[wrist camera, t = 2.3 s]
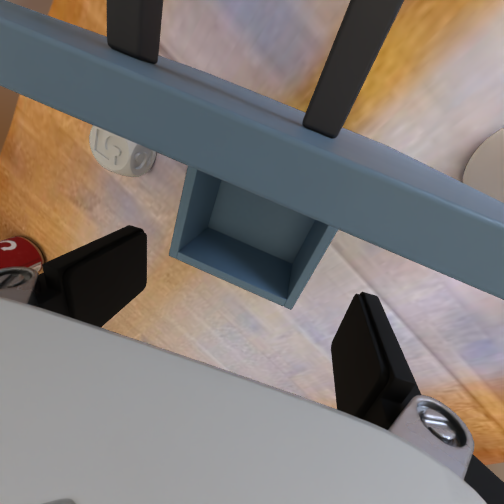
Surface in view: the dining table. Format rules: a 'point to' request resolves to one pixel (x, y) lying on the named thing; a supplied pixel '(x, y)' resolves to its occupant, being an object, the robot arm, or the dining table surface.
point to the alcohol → (488, 167)
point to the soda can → (20, 253)
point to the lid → (261, 131)
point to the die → (120, 153)
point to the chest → (247, 238)
